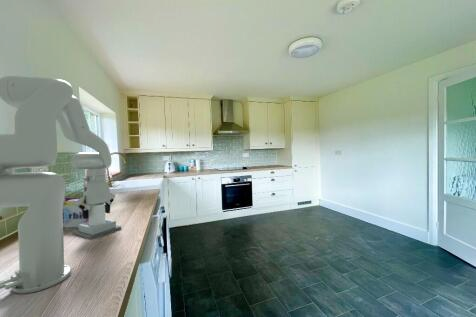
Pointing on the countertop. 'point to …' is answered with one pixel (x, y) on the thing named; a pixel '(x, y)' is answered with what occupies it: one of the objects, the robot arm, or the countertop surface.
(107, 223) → the holder
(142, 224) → the countertop surface
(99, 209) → the can
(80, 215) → the gum box
